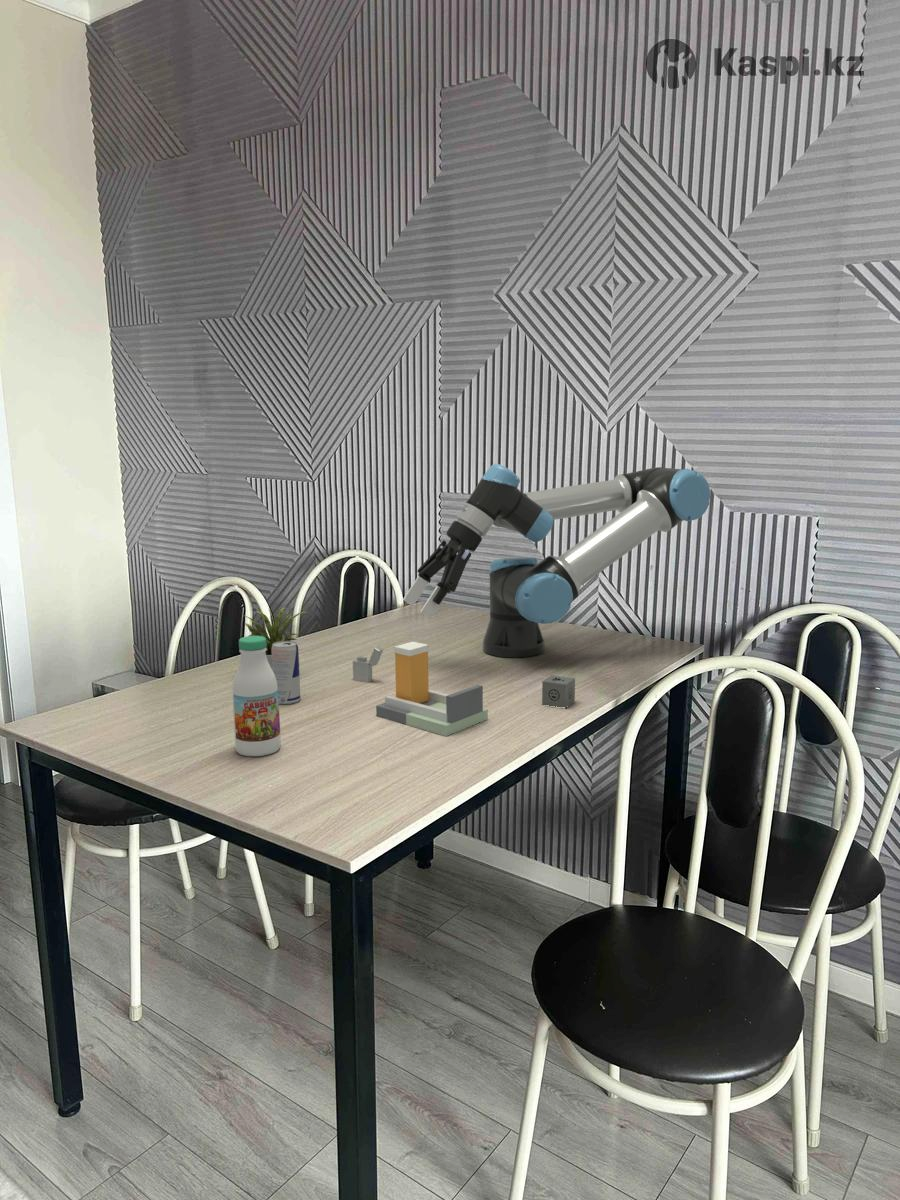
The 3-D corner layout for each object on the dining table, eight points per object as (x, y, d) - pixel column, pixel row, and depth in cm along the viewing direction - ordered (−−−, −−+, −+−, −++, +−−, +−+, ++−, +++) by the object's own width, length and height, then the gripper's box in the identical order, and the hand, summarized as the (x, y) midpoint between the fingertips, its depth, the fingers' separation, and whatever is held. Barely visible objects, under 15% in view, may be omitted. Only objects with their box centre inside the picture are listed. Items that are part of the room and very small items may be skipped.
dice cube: (551, 698, 182) (551, 675, 181) (574, 701, 179) (575, 678, 178) (542, 705, 177) (542, 681, 176) (565, 709, 175) (566, 684, 174)
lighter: (352, 679, 196) (351, 644, 194) (357, 677, 198) (356, 642, 196) (380, 683, 193) (379, 648, 191) (384, 681, 194) (383, 646, 193)
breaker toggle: (395, 702, 173) (394, 646, 171) (413, 696, 177) (412, 641, 174) (411, 706, 170) (410, 650, 168) (429, 700, 174) (428, 644, 172)
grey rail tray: (376, 715, 172) (375, 680, 171) (418, 700, 181) (418, 667, 179) (446, 736, 160) (445, 699, 159) (487, 719, 169) (487, 684, 168)
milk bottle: (227, 749, 155) (220, 638, 151) (265, 738, 160) (259, 630, 156) (251, 761, 149) (244, 646, 145) (289, 749, 155) (284, 637, 151)
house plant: (304, 665, 208) (301, 597, 204) (317, 681, 195) (314, 608, 192) (242, 672, 203) (238, 602, 199) (252, 689, 190) (247, 614, 187)
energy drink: (304, 697, 184) (302, 641, 181) (293, 705, 178) (291, 647, 176) (281, 695, 185) (278, 640, 183) (269, 703, 180) (266, 646, 178)
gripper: (438, 513, 206) (388, 590, 205) (476, 525, 183) (419, 611, 182) (463, 531, 209) (413, 606, 208) (503, 544, 186) (447, 629, 185)
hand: (416, 609), depth 195 cm, fingers open, 13 cm apart
